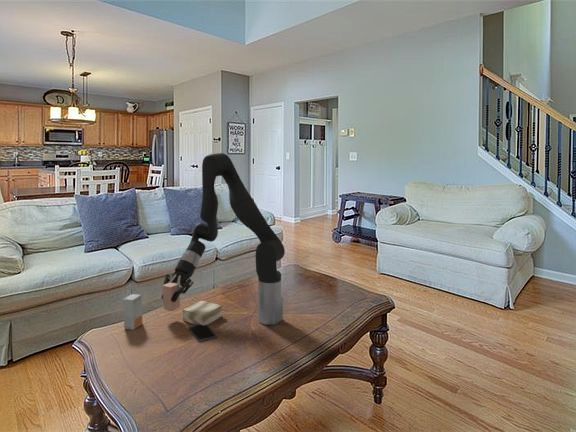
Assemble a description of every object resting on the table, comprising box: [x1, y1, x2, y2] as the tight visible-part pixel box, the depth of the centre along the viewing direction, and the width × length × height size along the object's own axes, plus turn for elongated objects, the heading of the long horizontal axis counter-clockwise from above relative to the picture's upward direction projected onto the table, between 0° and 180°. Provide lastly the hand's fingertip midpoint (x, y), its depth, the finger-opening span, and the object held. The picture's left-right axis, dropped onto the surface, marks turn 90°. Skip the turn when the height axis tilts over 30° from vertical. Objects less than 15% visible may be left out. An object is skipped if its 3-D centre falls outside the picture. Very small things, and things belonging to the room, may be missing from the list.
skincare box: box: [122, 293, 143, 331], centre depth 146 cm, size 6×4×12 cm
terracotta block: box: [161, 282, 181, 312], centre depth 152 cm, size 4×4×10 cm
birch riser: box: [182, 300, 223, 326], centre depth 154 cm, size 11×11×5 cm
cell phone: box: [187, 324, 218, 343], centre depth 142 cm, size 7×14×1 cm, turn 32°
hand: (167, 300), depth 151 cm, fingers closed on terracotta block, 4 cm apart
